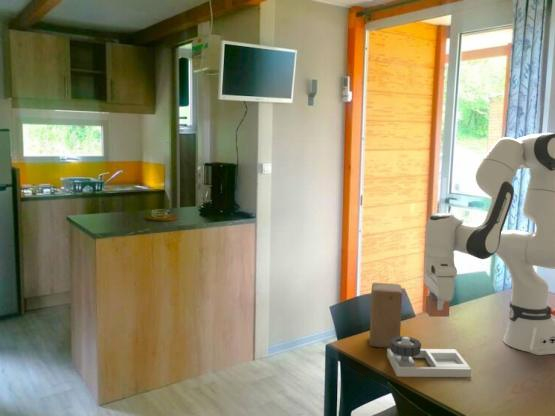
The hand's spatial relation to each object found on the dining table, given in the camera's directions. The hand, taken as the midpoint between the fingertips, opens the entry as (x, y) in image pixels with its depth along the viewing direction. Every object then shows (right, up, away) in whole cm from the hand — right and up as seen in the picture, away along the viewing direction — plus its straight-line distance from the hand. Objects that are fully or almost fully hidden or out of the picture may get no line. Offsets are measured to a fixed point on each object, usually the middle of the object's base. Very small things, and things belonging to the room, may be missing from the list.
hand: (436, 306), depth 167 cm
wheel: (-11, -13, -5) cm, 18 cm away
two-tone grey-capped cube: (0, -3, 0) cm, 3 cm away
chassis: (-4, -18, -4) cm, 19 cm away
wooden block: (-14, -15, +14) cm, 25 cm away
